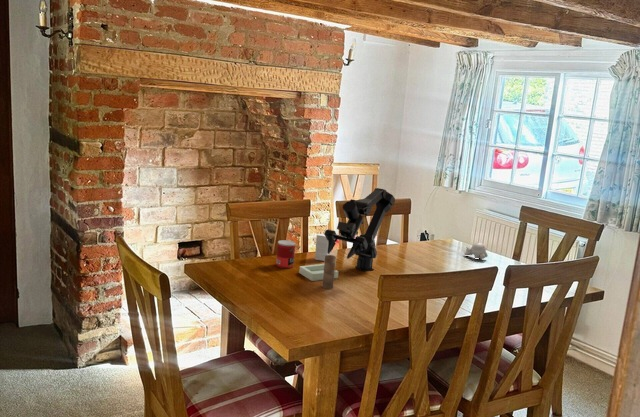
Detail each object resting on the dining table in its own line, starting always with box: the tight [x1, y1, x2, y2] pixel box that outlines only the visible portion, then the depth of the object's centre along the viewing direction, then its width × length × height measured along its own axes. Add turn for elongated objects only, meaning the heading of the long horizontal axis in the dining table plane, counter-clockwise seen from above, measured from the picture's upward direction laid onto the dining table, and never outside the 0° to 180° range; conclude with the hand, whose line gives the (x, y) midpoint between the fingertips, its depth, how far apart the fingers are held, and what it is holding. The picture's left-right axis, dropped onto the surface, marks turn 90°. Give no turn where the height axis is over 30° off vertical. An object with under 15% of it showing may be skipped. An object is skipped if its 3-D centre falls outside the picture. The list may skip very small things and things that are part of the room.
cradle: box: [298, 263, 340, 282], centre depth 250 cm, size 13×11×3 cm
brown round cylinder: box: [321, 254, 337, 290], centre depth 236 cm, size 4×4×13 cm
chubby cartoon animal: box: [463, 242, 489, 260], centre depth 300 cm, size 7×12×8 cm, turn 49°
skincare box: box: [314, 233, 331, 262], centre depth 273 cm, size 6×4×12 cm
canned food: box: [275, 239, 296, 269], centre depth 259 cm, size 8×8×11 cm
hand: (337, 255), depth 240 cm, fingers open, 9 cm apart
